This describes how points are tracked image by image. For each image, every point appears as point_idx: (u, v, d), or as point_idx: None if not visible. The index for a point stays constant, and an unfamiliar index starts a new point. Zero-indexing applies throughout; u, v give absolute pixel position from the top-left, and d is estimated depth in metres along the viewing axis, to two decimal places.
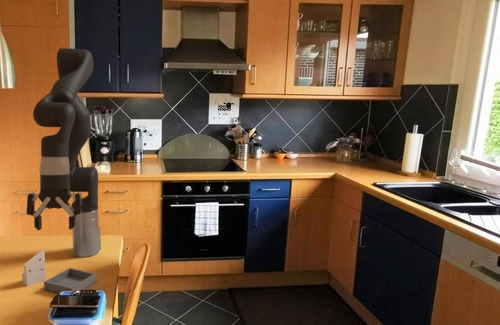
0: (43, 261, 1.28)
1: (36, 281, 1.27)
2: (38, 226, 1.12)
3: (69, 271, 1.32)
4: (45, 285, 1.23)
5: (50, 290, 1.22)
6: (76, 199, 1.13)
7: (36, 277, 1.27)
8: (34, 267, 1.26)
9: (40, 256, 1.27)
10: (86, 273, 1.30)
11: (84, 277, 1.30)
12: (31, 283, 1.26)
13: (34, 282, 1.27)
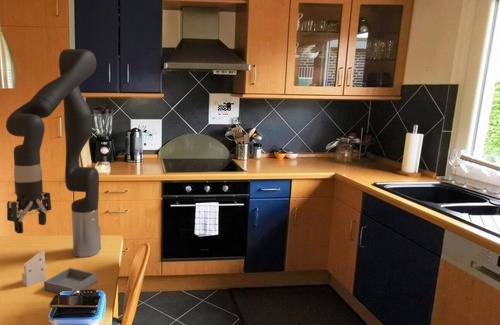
0: (43, 261, 1.28)
1: (36, 281, 1.27)
2: (22, 229, 1.21)
3: (69, 271, 1.32)
4: (45, 285, 1.23)
5: (50, 290, 1.22)
6: (48, 198, 1.29)
7: (36, 277, 1.27)
8: (34, 267, 1.26)
9: (40, 256, 1.27)
10: (86, 273, 1.30)
11: (84, 277, 1.30)
12: (31, 283, 1.26)
13: (34, 282, 1.27)
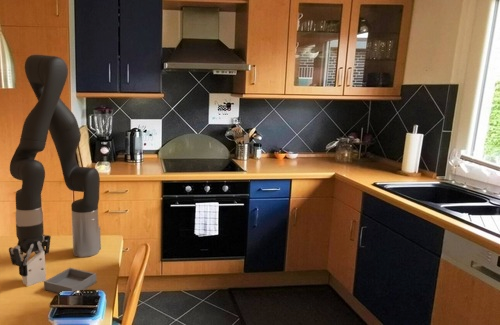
0: (43, 261, 1.28)
1: (36, 281, 1.27)
2: (26, 272, 1.24)
3: (69, 271, 1.32)
4: (45, 285, 1.23)
5: (50, 290, 1.22)
6: (48, 240, 1.31)
7: (36, 277, 1.27)
8: (34, 267, 1.26)
9: (40, 256, 1.27)
10: (86, 273, 1.30)
11: (84, 277, 1.30)
12: (31, 283, 1.26)
13: (34, 282, 1.27)
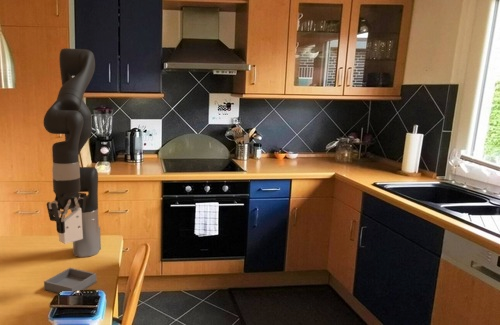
0: (80, 218, 1.24)
1: (73, 239, 1.23)
2: (64, 229, 1.20)
3: (69, 271, 1.32)
4: (45, 285, 1.23)
5: (50, 290, 1.22)
6: (84, 198, 1.26)
7: (73, 235, 1.23)
8: (71, 224, 1.22)
9: (77, 213, 1.23)
10: (86, 273, 1.30)
11: (84, 277, 1.30)
12: (68, 241, 1.22)
13: (71, 240, 1.23)
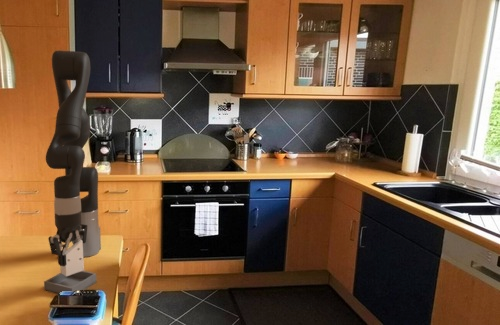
0: (81, 250, 1.25)
1: (74, 271, 1.25)
2: (65, 262, 1.22)
3: None
4: (45, 285, 1.23)
5: (50, 290, 1.22)
6: (85, 230, 1.28)
7: (74, 267, 1.24)
8: (73, 256, 1.24)
9: (78, 245, 1.24)
10: (86, 273, 1.30)
11: (84, 277, 1.30)
12: (70, 273, 1.24)
13: (73, 272, 1.24)
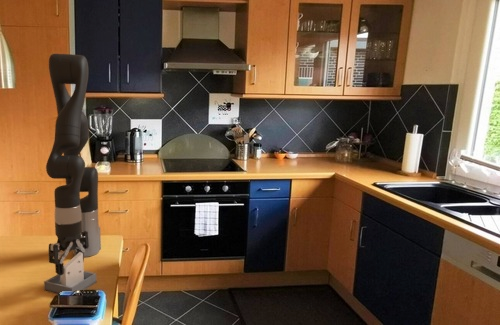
0: (81, 263, 1.26)
1: (75, 283, 1.25)
2: (63, 271, 1.21)
3: None
4: (45, 285, 1.23)
5: (50, 290, 1.22)
6: (86, 236, 1.29)
7: (74, 280, 1.25)
8: (73, 269, 1.24)
9: (79, 258, 1.25)
10: (86, 273, 1.30)
11: (84, 277, 1.30)
12: (70, 285, 1.24)
13: (73, 284, 1.25)
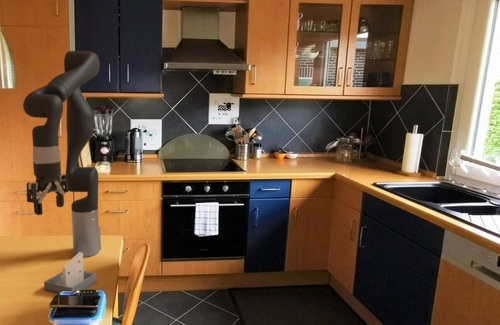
0: (81, 263, 1.26)
1: (75, 283, 1.25)
2: (41, 211, 1.20)
3: None
4: (45, 285, 1.23)
5: (50, 290, 1.22)
6: (65, 180, 1.28)
7: (74, 280, 1.25)
8: (73, 269, 1.24)
9: (79, 258, 1.25)
10: (86, 273, 1.30)
11: (84, 277, 1.30)
12: (70, 285, 1.24)
13: (73, 284, 1.25)
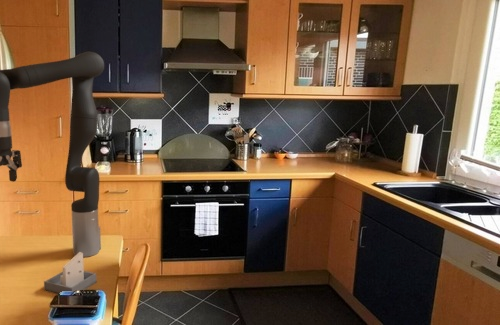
0: (81, 263, 1.26)
1: (75, 283, 1.25)
2: None
3: None
4: (45, 285, 1.23)
5: (50, 290, 1.22)
6: (18, 155, 1.34)
7: (74, 280, 1.25)
8: (73, 269, 1.24)
9: (79, 258, 1.25)
10: (86, 273, 1.30)
11: (84, 277, 1.30)
12: (70, 285, 1.24)
13: (73, 284, 1.25)
